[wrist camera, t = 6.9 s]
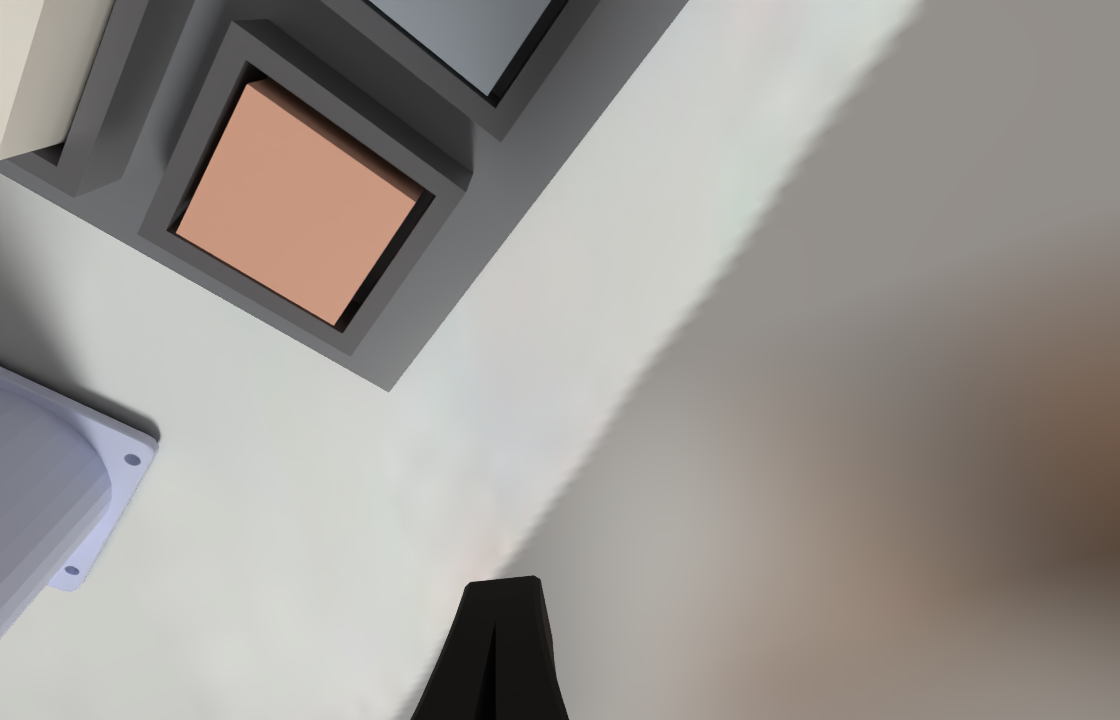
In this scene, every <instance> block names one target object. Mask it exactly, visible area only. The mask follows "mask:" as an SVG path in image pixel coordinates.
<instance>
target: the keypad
mask: <svg viewBox="0 0 1120 720" xmlns="http://www.w3.org/2000/svg"><path fill="white" fill-rule="evenodd" d="M688 1H689V0H551V1H550V3H549V4H548V6H547V7H546V9H545V10H544V12H543V13H542V15H541V16H540V18H539V19H538V21H537V22H536V24H535V25H534V27H533V28H532V30H531V31H530V33H529V34H528V36H527V37H526V39H525V40H524V42H523V43H522V45H521V46H520V48H519V49H518V51H517V52H516V54H515V55H514V57H513V58H512V60H511V61H510V63H509V64H508V66H507V67H506V69H505V70H504V72H503V73H502V75H501V76H500V78H499V79H498V81H497V82H496V84H495V85H494V87H493V88H492V90H491V91H490V93H489V94H488V96H486V95H485V94H484V93H483V92H481V91H480V90H479V89H478V88H477V87H475V86H474V85H473V84H472V83H470V82H469V81H468V80H467V79H465V78H464V77H463V76H462V75H461V74H459V73H458V72H457V71H456V70H454V69H453V68H452V67H451V66H449V65H448V64H447V63H446V62H445V61H443V60H442V59H441V58H440V57H438V56H437V55H436V54H435V53H433V52H432V51H431V50H430V49H429V48H427V47H426V46H425V45H424V44H422V43H421V42H420V41H419V40H417V39H416V38H415V37H414V36H413V35H411V34H410V33H409V32H408V31H406V30H405V29H404V28H403V27H401V26H400V25H399V24H398V23H397V22H395V21H394V20H393V19H392V18H390V17H389V16H388V15H387V14H385V13H384V12H383V11H382V10H381V9H379V8H378V7H377V6H376V5H374V4H373V3H372V2H371V1H369V0H115V2H114V5H113V7H112V10H111V13H110V16H109V19H108V22H107V24H106V27H105V30H104V33H103V36H102V39H101V41H100V44H99V47H98V50H97V53H96V56H95V58H94V61H93V64H92V67H91V70H90V73H89V75H88V78H87V81H86V84H85V87H84V89H83V92H82V95H81V98H80V101H79V104H78V106H77V109H76V112H75V115H74V118H73V121H72V123H71V126H70V129H69V132H68V135H67V138H66V140H65V142H63V143H59V144H56V145H52V146H48V147H45V148H41V149H38V150H34V151H31V152H27V153H24V154H20V155H17V156H13V157H10V158H6V159H3V160H0V173H1V174H3V175H5V176H6V177H8V178H10V179H12V180H14V181H15V182H17V183H19V184H21V185H22V186H24V187H26V188H28V189H29V190H31V191H33V192H35V193H37V194H38V195H40V196H42V197H44V198H45V199H47V200H49V201H51V202H52V203H54V204H56V205H58V206H60V207H61V208H63V209H65V210H67V211H68V212H70V213H72V214H74V215H76V216H77V217H79V218H81V219H83V220H84V221H86V222H88V223H90V224H91V225H93V226H95V227H97V228H99V229H100V230H102V231H104V232H106V233H107V234H109V235H111V236H113V237H114V238H116V239H118V240H120V241H122V242H123V243H125V244H127V245H129V246H130V247H132V248H134V249H136V250H138V251H139V252H141V253H143V254H145V255H146V256H148V257H150V258H152V259H153V260H155V261H157V262H159V263H161V264H162V265H164V266H166V267H168V268H169V269H171V270H173V271H175V272H176V273H178V274H180V275H182V276H184V277H185V278H187V279H189V280H191V281H192V282H194V283H196V284H198V285H200V286H201V287H203V288H205V289H207V290H208V291H210V292H212V293H214V294H215V295H217V296H219V297H221V298H223V299H224V300H226V301H228V302H230V303H231V304H233V305H235V306H237V307H238V308H240V309H242V310H244V311H246V312H247V313H249V314H251V315H253V316H254V317H256V318H258V319H260V320H262V321H263V322H265V323H267V324H269V325H270V326H272V327H274V328H276V329H277V330H279V331H281V332H283V333H285V334H286V335H288V336H290V337H292V338H293V339H295V340H297V341H299V342H300V343H302V344H304V345H306V346H308V347H309V348H311V349H313V350H315V351H316V352H318V353H320V354H322V355H324V356H325V357H327V358H329V359H331V360H332V361H334V362H336V363H338V364H339V365H341V366H343V367H345V368H347V369H348V370H350V371H352V372H354V373H355V374H357V375H359V376H361V377H362V378H364V379H366V380H368V381H370V382H371V383H373V384H375V385H377V386H378V387H380V388H382V389H384V390H385V391H387V392H390V390H391V389H392V388H393V386H394V385H395V384H396V382H397V381H398V380H399V378H400V377H401V376H402V375H403V373H404V372H405V371H406V369H407V368H408V367H409V365H410V364H411V363H412V362H413V360H414V359H415V358H416V356H417V355H418V354H419V352H420V351H421V350H422V348H423V347H424V346H425V345H426V343H427V342H428V341H429V339H430V338H431V337H432V335H433V334H434V333H435V331H436V330H437V329H438V328H439V326H440V325H441V324H442V322H443V321H444V320H445V318H446V317H447V316H448V314H449V313H450V312H451V311H452V309H453V308H454V307H455V305H456V304H457V303H458V301H459V300H460V299H461V297H462V296H463V295H464V294H465V292H466V291H467V290H468V288H469V287H470V286H471V284H472V283H473V282H474V280H475V279H476V278H477V277H478V275H479V274H480V273H481V271H482V270H483V269H484V267H485V266H486V265H487V263H488V262H489V261H490V260H491V258H492V257H493V256H494V254H495V253H496V252H497V250H498V249H499V248H500V246H501V245H502V244H503V243H504V241H505V240H506V239H507V237H508V236H509V235H510V233H511V232H512V231H513V229H514V228H515V227H516V226H517V224H518V223H519V222H520V220H521V219H522V218H523V216H524V215H525V214H526V213H527V211H528V210H529V209H530V207H531V206H532V205H533V203H534V202H535V201H536V199H537V198H538V197H539V196H540V194H541V193H542V192H543V190H544V189H545V188H546V186H547V185H548V184H549V182H550V181H551V180H552V179H553V177H554V176H555V175H556V173H557V172H558V171H559V169H560V168H561V167H562V165H563V164H564V163H565V162H566V160H567V159H568V158H569V156H570V155H571V154H572V152H573V151H574V150H575V148H576V147H577V146H578V145H579V143H580V142H581V141H582V139H583V138H584V137H585V135H586V134H587V133H588V131H589V130H590V129H591V128H592V126H593V125H594V124H595V122H596V121H597V120H598V118H599V117H600V116H601V114H602V113H603V112H604V111H605V109H606V108H607V107H608V105H609V104H610V103H611V101H612V100H613V99H614V97H615V96H616V95H617V94H618V92H619V91H620V90H621V88H622V87H623V86H624V84H625V83H626V82H627V80H628V79H629V78H630V77H631V75H632V74H633V73H634V71H635V70H636V69H637V67H638V66H639V65H640V64H641V62H642V61H643V60H644V58H645V57H646V56H647V54H648V53H649V52H650V50H651V49H652V48H653V47H654V45H655V44H656V43H657V41H658V40H659V39H660V37H661V36H662V35H663V33H664V32H665V31H666V30H667V28H668V27H669V26H670V24H671V23H672V22H673V20H674V19H675V18H676V16H677V15H678V14H679V13H680V11H681V10H682V9H683V7H684V6H685V5H686V3H687V2H688ZM268 78H272V79H273V80H275V81H276V82H278V83H279V84H280V85H282V86H283V87H285V88H286V89H287V90H289V91H290V92H292V93H293V94H294V95H296V96H297V97H299V98H300V99H301V100H303V101H304V102H306V103H307V104H308V105H310V106H311V107H312V108H314V109H315V110H317V111H318V112H319V113H321V114H322V115H324V116H325V117H326V118H328V119H329V120H331V121H332V122H333V123H335V124H336V125H338V126H339V127H340V128H342V129H343V130H345V131H346V132H347V133H349V134H350V135H352V136H353V137H354V138H356V139H357V140H359V141H360V142H361V143H363V144H364V145H366V146H367V147H368V148H370V149H371V150H373V151H374V152H375V153H377V154H378V155H380V156H381V157H382V158H384V159H385V160H387V161H388V162H389V163H391V164H392V165H394V166H395V167H396V168H398V169H399V170H400V171H402V172H403V173H405V174H406V175H407V176H409V177H410V178H412V179H413V180H414V181H416V182H417V183H419V184H420V185H421V186H423V187H424V188H425V189H424V190H423V192H422V193H421V195H420V197H419V198H418V200H417V201H416V203H415V204H414V206H413V207H412V209H411V210H410V212H409V213H408V215H407V216H406V218H405V219H404V221H403V222H402V224H401V225H400V227H399V228H398V230H397V231H396V233H395V234H394V236H393V237H392V239H391V240H390V242H389V243H388V245H387V246H386V248H385V249H384V251H383V252H382V254H381V255H380V257H379V258H378V260H377V261H376V263H375V264H374V266H373V267H372V269H371V270H370V272H369V273H368V275H367V276H366V278H365V279H364V281H363V282H362V284H361V285H360V287H359V288H358V290H357V291H356V293H355V295H354V296H353V298H352V299H351V301H350V302H349V304H348V305H347V307H346V308H345V310H344V311H343V313H342V314H341V316H340V317H339V319H338V320H337V322H336V323H335V325H332V324H330V323H329V322H327V321H325V320H323V319H322V318H320V317H318V316H317V315H315V314H313V313H311V312H310V311H308V310H306V309H305V308H303V307H301V306H300V305H298V304H296V303H294V302H293V301H291V300H289V299H288V298H286V297H284V296H283V295H281V294H279V293H277V292H276V291H274V290H272V289H271V288H269V287H267V286H266V285H264V284H262V283H260V282H259V281H257V280H255V279H254V278H252V277H250V276H248V275H247V274H245V273H243V272H242V271H240V270H238V269H237V268H235V267H233V266H231V265H230V264H228V263H226V262H225V261H223V260H221V259H220V258H218V257H216V256H214V255H213V254H211V253H209V252H208V251H206V250H204V249H203V248H201V247H199V246H197V245H196V244H194V243H192V242H191V241H189V240H187V239H185V238H184V237H182V236H180V235H179V234H177V233H176V232H177V230H178V228H179V226H180V223H181V221H182V219H183V217H184V215H185V213H186V211H187V209H188V207H189V205H190V203H191V200H192V198H193V196H194V194H195V192H196V190H197V188H198V186H199V184H200V182H201V179H202V177H203V175H204V173H205V171H206V169H207V167H208V165H209V163H210V161H211V158H212V156H213V154H214V152H215V150H216V148H217V146H218V144H219V142H220V140H221V138H222V135H223V133H224V131H225V129H226V127H227V125H228V123H229V121H230V119H231V117H232V114H233V112H234V110H235V108H236V106H237V104H238V102H239V100H240V98H241V96H242V93H243V91H244V89H245V87H246V85H247V84H248V83H252V82H256V81H260V80H264V79H268Z"/></svg>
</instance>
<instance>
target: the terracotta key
mask: <svg viewBox="0 0 1120 720" xmlns="http://www.w3.org/2000/svg"><path fill="white" fill-rule="evenodd" d="M424 189H425V188H424V187H423V186H421V185H420V184H419V183H417V182H416V181H414V180H413V179H412V178H410V177H409V176H407V175H406V174H405V173H403V172H402V171H400V170H399V169H398V168H396V167H395V166H394V165H392V164H391V163H389V162H388V161H387V160H385V159H384V158H382V157H381V156H380V155H378V154H377V153H375V152H374V151H373V150H371V149H370V148H368V147H367V146H366V145H364V144H363V143H361V142H360V141H359V140H357V139H356V138H354V137H353V136H352V135H350V134H349V133H347V132H346V131H345V130H343V129H342V128H340V127H339V126H338V125H336V124H335V123H333V122H332V121H331V120H329V119H328V118H326V117H325V116H324V115H322V114H321V113H319V112H318V111H317V110H315V109H314V108H312V107H311V106H310V105H308V104H307V103H306V102H304V101H303V100H301V99H300V98H299V97H297V96H296V95H294V94H293V93H292V92H290V91H289V90H287V89H286V88H285V87H283V86H282V85H280V84H279V83H278V82H276V81H275V80H273V79H272V78H268V79H264V80H260V81H256V82H252V83H248V84H247V85H246V87H245V89H244V91H243V93H242V96H241V98H240V100H239V102H238V104H237V106H236V108H235V110H234V112H233V114H232V117H231V119H230V121H229V123H228V125H227V127H226V129H225V131H224V133H223V135H222V138H221V140H220V142H219V144H218V146H217V148H216V150H215V152H214V154H213V156H212V158H211V161H210V163H209V165H208V167H207V169H206V171H205V173H204V175H203V177H202V179H201V182H200V184H199V186H198V188H197V190H196V192H195V194H194V196H193V198H192V200H191V203H190V205H189V207H188V209H187V211H186V213H185V215H184V217H183V219H182V221H181V223H180V226H179V228H178V230H177V232H176V233H177V234H179V235H180V236H182V237H184V238H185V239H187V240H189V241H191V242H192V243H194V244H196V245H197V246H199V247H201V248H203V249H204V250H206V251H208V252H209V253H211V254H213V255H214V256H216V257H218V258H220V259H221V260H223V261H225V262H226V263H228V264H230V265H231V266H233V267H235V268H237V269H238V270H240V271H242V272H243V273H245V274H247V275H248V276H250V277H252V278H254V279H255V280H257V281H259V282H260V283H262V284H264V285H266V286H267V287H269V288H271V289H272V290H274V291H276V292H277V293H279V294H281V295H283V296H284V297H286V298H288V299H289V300H291V301H293V302H294V303H296V304H298V305H300V306H301V307H303V308H305V309H306V310H308V311H310V312H311V313H313V314H315V315H317V316H318V317H320V318H322V319H323V320H325V321H327V322H329V323H330V324H332V325H335V323H336V322H337V320H338V319H339V317H340V316H341V314H342V313H343V311H344V310H345V308H346V307H347V305H348V304H349V302H350V301H351V299H352V298H353V296H354V295H355V293H356V291H357V290H358V288H359V287H360V285H361V284H362V282H363V281H364V279H365V278H366V276H367V275H368V273H369V272H370V270H371V269H372V267H373V266H374V264H375V263H376V261H377V260H378V258H379V257H380V255H381V254H382V252H383V251H384V249H385V248H386V246H387V245H388V243H389V242H390V240H391V239H392V237H393V236H394V234H395V233H396V231H397V230H398V228H399V227H400V225H401V224H402V222H403V221H404V219H405V218H406V216H407V215H408V213H409V212H410V210H411V209H412V207H413V206H414V204H415V203H416V201H417V200H418V198H419V197H420V195H421V193H422V192H423V190H424Z"/></svg>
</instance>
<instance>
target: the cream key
mask: <svg viewBox="0 0 1120 720" xmlns="http://www.w3.org/2000/svg"><path fill="white" fill-rule="evenodd" d="M114 2H115V0H0V160H3V159H6V158H10V157H13V156H17V155H20V154H24V153H27V152H31V151H34V150H38V149H41V148H45V147H48V146H52V145H56V144H59V143H63V142H65V140H66V138H67V135H68V132H69V129H70V126H71V123H72V121H73V118H74V115H75V112H76V109H77V106H78V104H79V101H80V98H81V95H82V92H83V89H84V87H85V84H86V81H87V78H88V75H89V73H90V70H91V67H92V64H93V61H94V58H95V56H96V53H97V50H98V47H99V44H100V41H101V39H102V36H103V33H104V30H105V27H106V24H107V22H108V19H109V16H110V13H111V10H112V7H113V5H114Z"/></svg>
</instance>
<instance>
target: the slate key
mask: <svg viewBox="0 0 1120 720" xmlns="http://www.w3.org/2000/svg"><path fill="white" fill-rule="evenodd" d="M369 1H371V2H372V3H373V4H374V5H376V6H377V7H378V8H379V9H381V10H382V11H383V12H384V13H385V14H387V15H388V16H389V17H390V18H392V19H393V20H394V21H395V22H397V23H398V24H399V25H400V26H401V27H403V28H404V29H405V30H406V31H408V32H409V33H410V34H411V35H413V36H414V37H415V38H416V39H417V40H419V41H420V42H421V43H422V44H424V45H425V46H426V47H427V48H429V49H430V50H431V51H432V52H433V53H435V54H436V55H437V56H438V57H440V58H441V59H442V60H443V61H445V62H446V63H447V64H448V65H449V66H451V67H452V68H453V69H454V70H456V71H457V72H458V73H459V74H461V75H462V76H463V77H464V78H465V79H467V80H468V81H469V82H470V83H472V84H473V85H474V86H475V87H477V88H478V89H479V90H480V91H481V92H483V93H484V94H485V95H486V96H488V94H489V93H490V91H491V90H492V88H493V87H494V85H495V84H496V82H497V81H498V79H499V78H500V76H501V75H502V73H503V72H504V70H505V69H506V67H507V66H508V64H509V63H510V61H511V60H512V58H513V57H514V55H515V54H516V52H517V51H518V49H519V48H520V46H521V45H522V43H523V42H524V40H525V39H526V37H527V36H528V34H529V33H530V31H531V30H532V28H533V27H534V25H535V24H536V22H537V21H538V19H539V18H540V16H541V15H542V13H543V12H544V10H545V9H546V7H547V6H548V4H549V3H550V1H551V0H369Z"/></svg>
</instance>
